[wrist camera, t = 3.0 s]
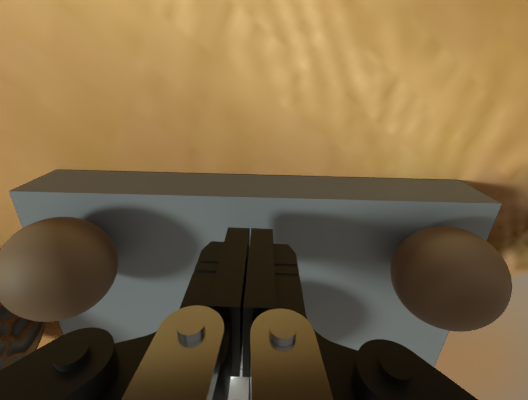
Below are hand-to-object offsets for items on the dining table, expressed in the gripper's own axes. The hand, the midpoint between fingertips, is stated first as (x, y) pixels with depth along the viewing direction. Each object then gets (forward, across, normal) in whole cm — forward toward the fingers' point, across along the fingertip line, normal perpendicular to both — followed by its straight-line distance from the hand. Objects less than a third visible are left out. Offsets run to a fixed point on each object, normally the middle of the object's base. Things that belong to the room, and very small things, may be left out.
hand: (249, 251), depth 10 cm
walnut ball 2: (0, -7, 0) cm, 7 cm away
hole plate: (+4, 0, +8) cm, 8 cm away
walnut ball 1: (0, +6, +1) cm, 6 cm away
